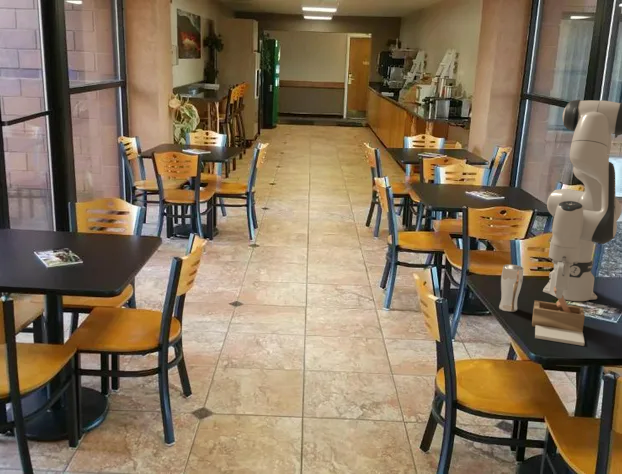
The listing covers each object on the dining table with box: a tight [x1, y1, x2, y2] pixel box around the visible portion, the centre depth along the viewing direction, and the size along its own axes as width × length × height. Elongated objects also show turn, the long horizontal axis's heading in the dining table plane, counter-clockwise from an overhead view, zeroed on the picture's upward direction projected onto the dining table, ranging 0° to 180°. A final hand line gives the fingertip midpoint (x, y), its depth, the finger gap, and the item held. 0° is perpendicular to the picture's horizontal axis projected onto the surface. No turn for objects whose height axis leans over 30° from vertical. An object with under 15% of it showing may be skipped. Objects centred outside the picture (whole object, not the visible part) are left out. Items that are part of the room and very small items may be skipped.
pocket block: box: [531, 299, 586, 332], centre depth 211 cm, size 9×15×6 cm, turn 71°
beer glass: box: [498, 264, 524, 313], centre depth 223 cm, size 7×7×15 cm
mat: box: [534, 325, 585, 347], centre depth 202 cm, size 9×14×1 cm, turn 71°
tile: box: [554, 287, 571, 313], centre depth 210 cm, size 5×11×3 cm
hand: (558, 294), depth 210 cm, fingers closed on tile, 5 cm apart
